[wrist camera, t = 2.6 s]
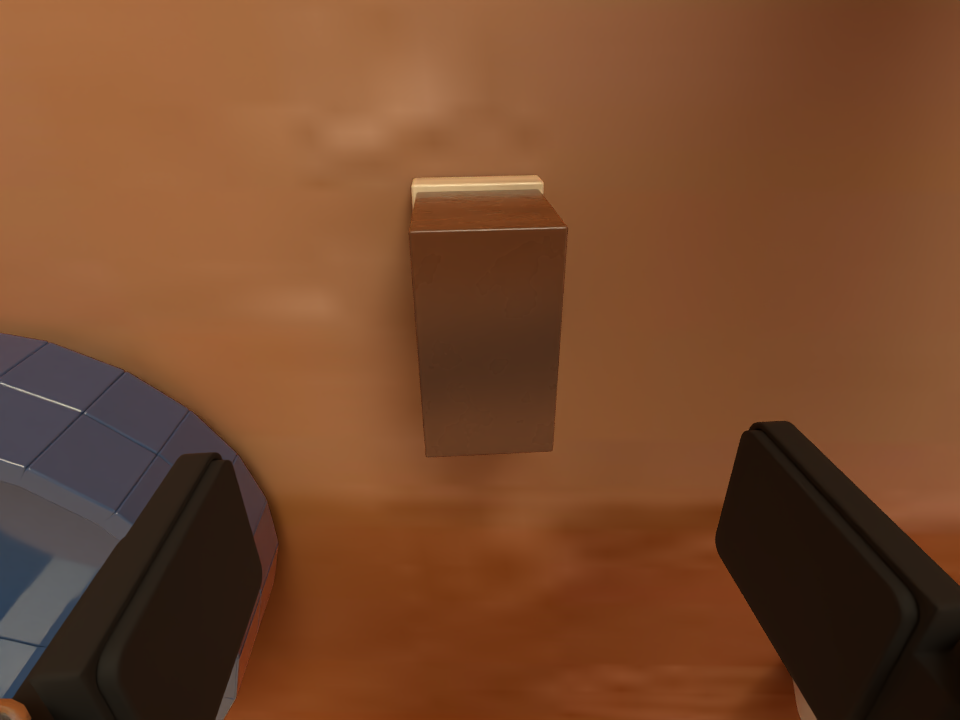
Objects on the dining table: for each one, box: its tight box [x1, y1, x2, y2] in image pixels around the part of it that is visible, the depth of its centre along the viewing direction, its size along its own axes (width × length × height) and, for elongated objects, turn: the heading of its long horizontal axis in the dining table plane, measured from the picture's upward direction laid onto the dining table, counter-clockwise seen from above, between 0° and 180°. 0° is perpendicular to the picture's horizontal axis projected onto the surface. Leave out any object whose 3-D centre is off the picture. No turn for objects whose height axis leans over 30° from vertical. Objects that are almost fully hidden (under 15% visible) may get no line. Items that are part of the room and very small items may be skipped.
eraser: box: [409, 175, 568, 457], centre depth 16 cm, size 7×4×6 cm, turn 1°
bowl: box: [0, 333, 279, 720], centre depth 20 cm, size 19×19×6 cm
